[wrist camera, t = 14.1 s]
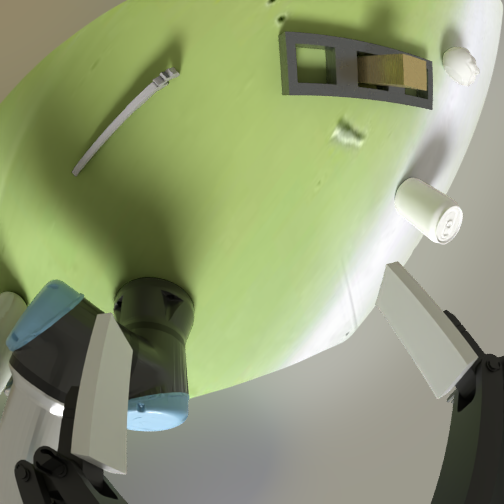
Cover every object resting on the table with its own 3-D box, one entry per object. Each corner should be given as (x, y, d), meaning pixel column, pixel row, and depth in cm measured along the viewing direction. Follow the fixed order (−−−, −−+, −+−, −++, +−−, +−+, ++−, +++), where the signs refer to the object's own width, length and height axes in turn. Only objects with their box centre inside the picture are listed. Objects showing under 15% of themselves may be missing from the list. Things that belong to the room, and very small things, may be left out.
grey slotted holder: (420, 107, 35) (432, 109, 33) (282, 94, 32) (289, 95, 30) (420, 61, 30) (432, 61, 28) (278, 35, 27) (285, 31, 25)
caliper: (175, 69, 28) (170, 63, 23) (180, 75, 29) (176, 70, 23) (72, 171, 32) (54, 185, 27) (77, 176, 32) (59, 191, 27)
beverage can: (425, 177, 43) (468, 202, 34) (417, 214, 48) (455, 244, 38) (396, 175, 42) (442, 203, 32) (388, 215, 47) (428, 249, 37)
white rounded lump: (457, 87, 33) (485, 94, 27) (434, 76, 32) (465, 80, 26) (457, 53, 29) (486, 56, 23) (434, 39, 28) (464, 40, 21)
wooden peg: (373, 84, 33) (426, 90, 23) (351, 82, 32) (403, 85, 22) (372, 61, 31) (425, 61, 21) (350, 57, 30) (402, 53, 20)
